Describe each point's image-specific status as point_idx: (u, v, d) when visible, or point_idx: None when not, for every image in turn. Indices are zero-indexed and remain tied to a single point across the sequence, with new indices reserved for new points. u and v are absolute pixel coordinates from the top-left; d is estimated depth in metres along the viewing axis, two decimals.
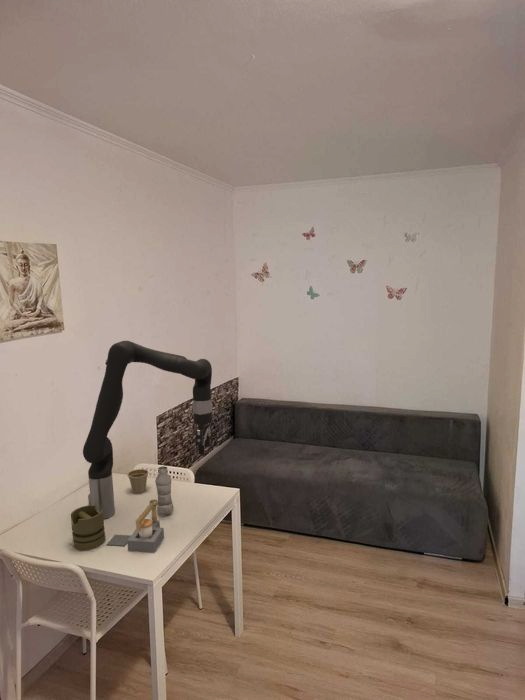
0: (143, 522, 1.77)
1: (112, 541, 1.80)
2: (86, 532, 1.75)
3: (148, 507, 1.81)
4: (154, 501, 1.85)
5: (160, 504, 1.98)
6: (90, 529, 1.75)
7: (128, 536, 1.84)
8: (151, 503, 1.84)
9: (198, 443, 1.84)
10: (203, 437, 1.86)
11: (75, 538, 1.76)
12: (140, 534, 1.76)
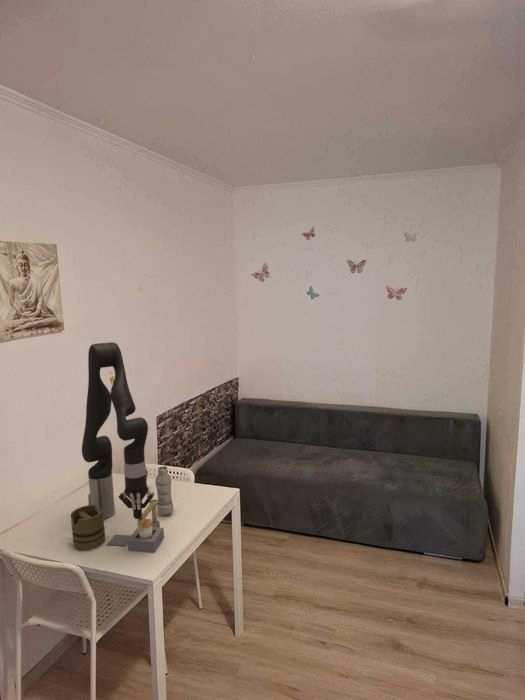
0: (143, 522, 1.77)
1: (112, 541, 1.80)
2: (86, 532, 1.75)
3: (148, 507, 1.81)
4: (154, 501, 1.85)
5: (160, 504, 1.98)
6: (90, 529, 1.75)
7: (128, 536, 1.84)
8: (151, 503, 1.84)
9: None
10: (142, 499, 1.76)
11: (75, 538, 1.76)
12: (140, 534, 1.76)
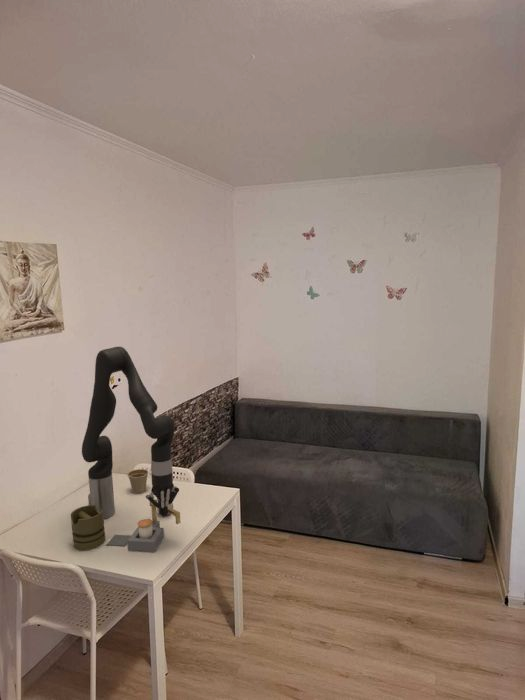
0: (143, 522, 1.77)
1: (112, 541, 1.80)
2: (86, 532, 1.75)
3: None
4: None
5: None
6: (90, 529, 1.75)
7: (128, 536, 1.84)
8: None
9: None
10: None
11: (75, 538, 1.76)
12: (140, 534, 1.76)
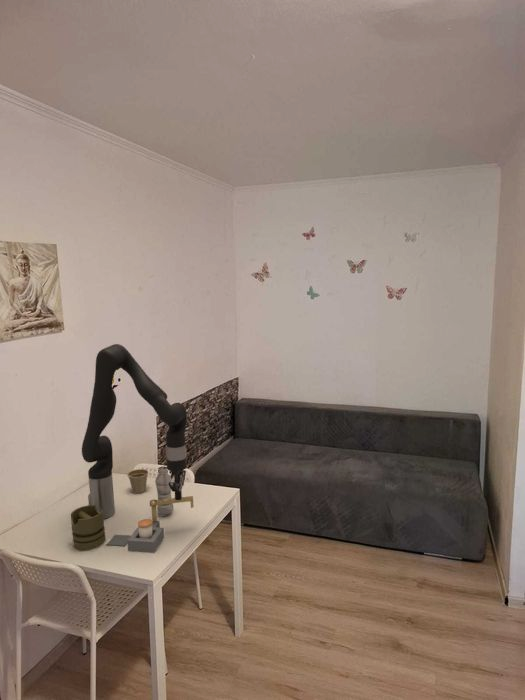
0: (143, 522, 1.77)
1: (112, 541, 1.80)
2: (86, 532, 1.75)
3: (166, 499, 1.87)
4: (153, 500, 1.86)
5: None
6: (90, 529, 1.75)
7: (128, 536, 1.84)
8: (158, 500, 1.86)
9: None
10: None
11: (75, 538, 1.76)
12: (140, 534, 1.76)
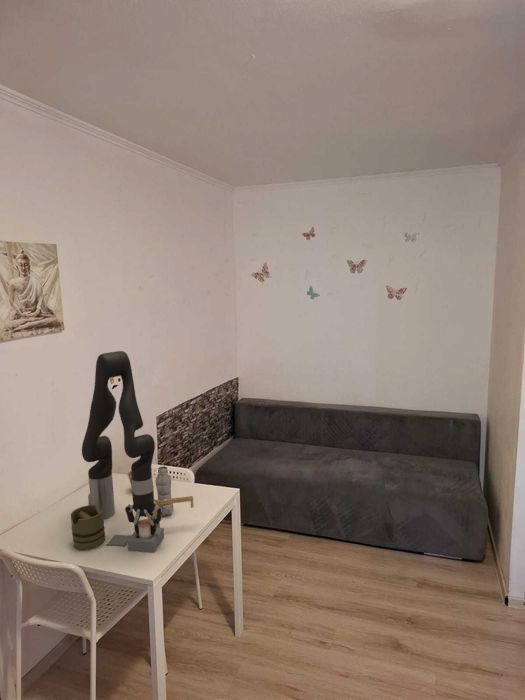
0: (143, 522, 1.77)
1: (112, 541, 1.80)
2: (86, 532, 1.75)
3: (166, 499, 1.87)
4: None
5: None
6: (90, 529, 1.75)
7: (128, 536, 1.84)
8: (158, 500, 1.86)
9: (159, 521, 1.76)
10: (153, 514, 1.77)
11: (75, 538, 1.76)
12: (140, 534, 1.76)
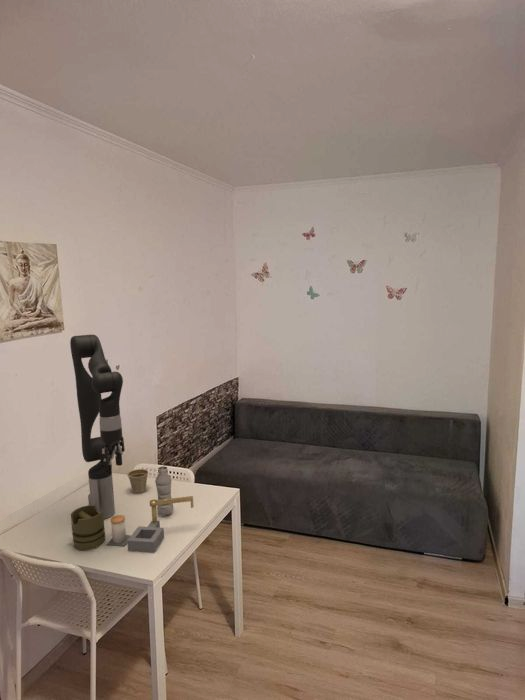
0: (117, 519, 1.79)
1: (112, 541, 1.80)
2: (86, 532, 1.75)
3: (166, 499, 1.87)
4: (153, 500, 1.86)
5: None
6: (90, 529, 1.75)
7: (128, 536, 1.84)
8: (158, 500, 1.86)
9: None
10: None
11: (75, 538, 1.76)
12: (122, 529, 1.79)
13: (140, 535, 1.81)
